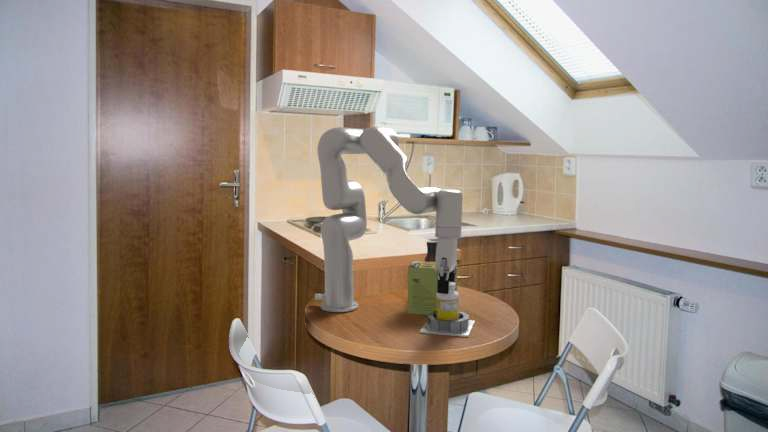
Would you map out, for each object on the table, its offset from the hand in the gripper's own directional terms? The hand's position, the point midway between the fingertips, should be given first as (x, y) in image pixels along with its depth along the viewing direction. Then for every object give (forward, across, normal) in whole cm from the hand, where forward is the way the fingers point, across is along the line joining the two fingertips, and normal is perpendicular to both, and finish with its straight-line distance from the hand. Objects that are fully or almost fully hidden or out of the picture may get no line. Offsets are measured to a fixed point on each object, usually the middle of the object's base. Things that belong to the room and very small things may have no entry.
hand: (445, 289), depth 162 cm
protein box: (+12, -16, -7) cm, 21 cm away
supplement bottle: (+11, 0, +1) cm, 11 cm away
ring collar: (+12, 0, +1) cm, 12 cm away
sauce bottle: (+12, -36, -11) cm, 39 cm away
